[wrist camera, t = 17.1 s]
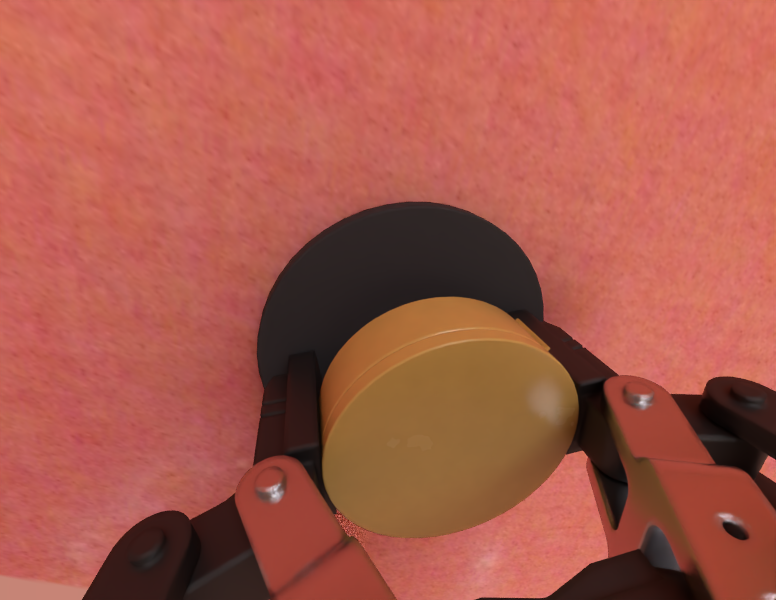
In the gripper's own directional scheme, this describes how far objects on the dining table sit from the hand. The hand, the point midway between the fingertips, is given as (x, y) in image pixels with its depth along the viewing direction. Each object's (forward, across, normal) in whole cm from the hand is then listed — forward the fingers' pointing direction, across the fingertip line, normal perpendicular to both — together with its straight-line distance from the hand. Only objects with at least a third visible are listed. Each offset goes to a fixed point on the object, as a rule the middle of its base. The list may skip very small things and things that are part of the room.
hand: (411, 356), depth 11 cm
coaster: (+1, 0, 0) cm, 1 cm away
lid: (-3, 0, 0) cm, 3 cm away
